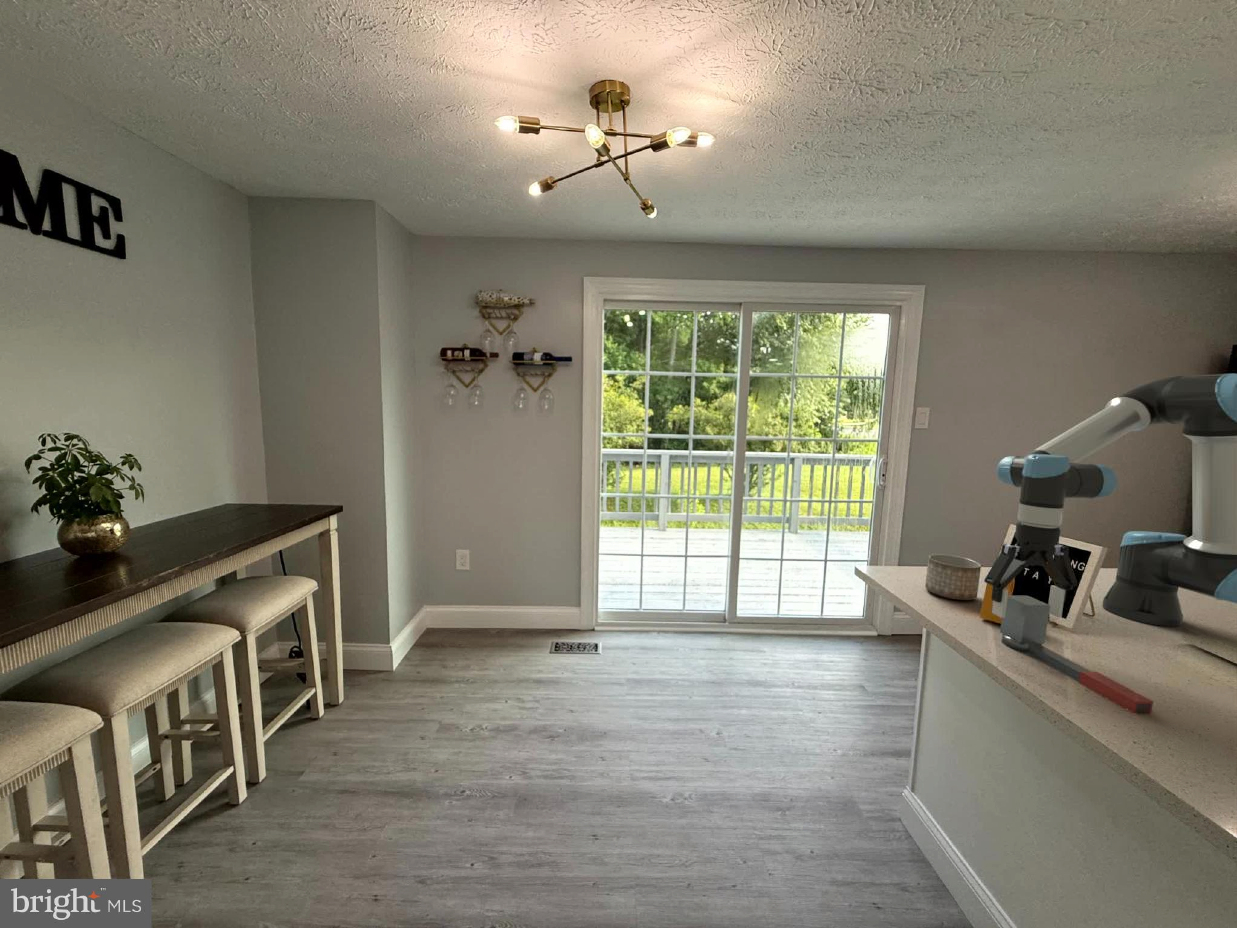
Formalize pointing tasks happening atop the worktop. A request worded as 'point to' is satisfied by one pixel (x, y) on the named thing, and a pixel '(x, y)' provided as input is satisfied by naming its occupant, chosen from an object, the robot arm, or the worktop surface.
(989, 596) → the bracket
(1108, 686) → the ratchet
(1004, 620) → the gray rectangular block
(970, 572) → the planter
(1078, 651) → the worktop surface
